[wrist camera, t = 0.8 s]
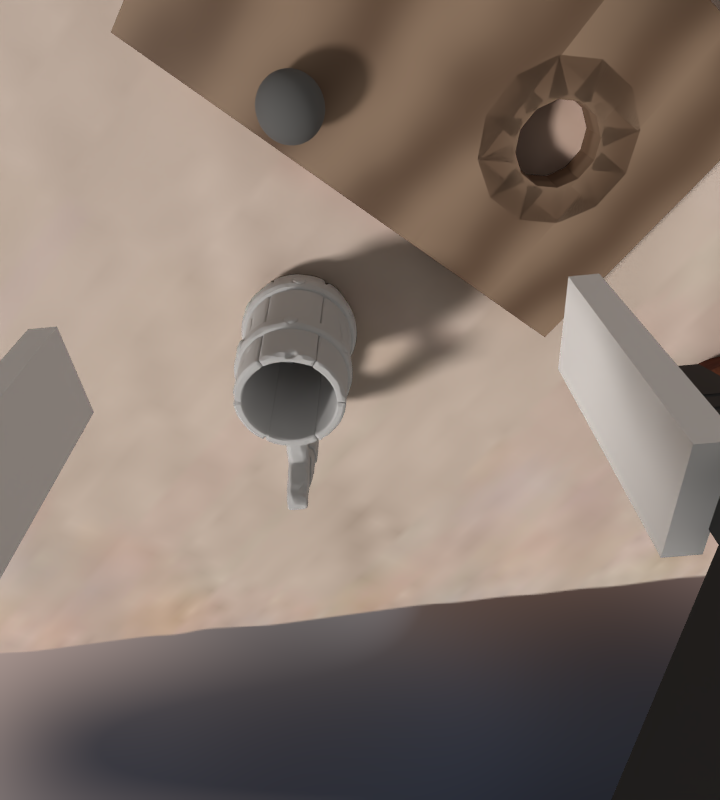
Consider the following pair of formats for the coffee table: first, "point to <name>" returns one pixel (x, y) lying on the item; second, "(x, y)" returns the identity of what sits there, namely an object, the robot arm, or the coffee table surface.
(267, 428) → the mug
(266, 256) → the coffee table surface
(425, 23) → the deck
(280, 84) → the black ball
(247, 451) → the coffee table surface
